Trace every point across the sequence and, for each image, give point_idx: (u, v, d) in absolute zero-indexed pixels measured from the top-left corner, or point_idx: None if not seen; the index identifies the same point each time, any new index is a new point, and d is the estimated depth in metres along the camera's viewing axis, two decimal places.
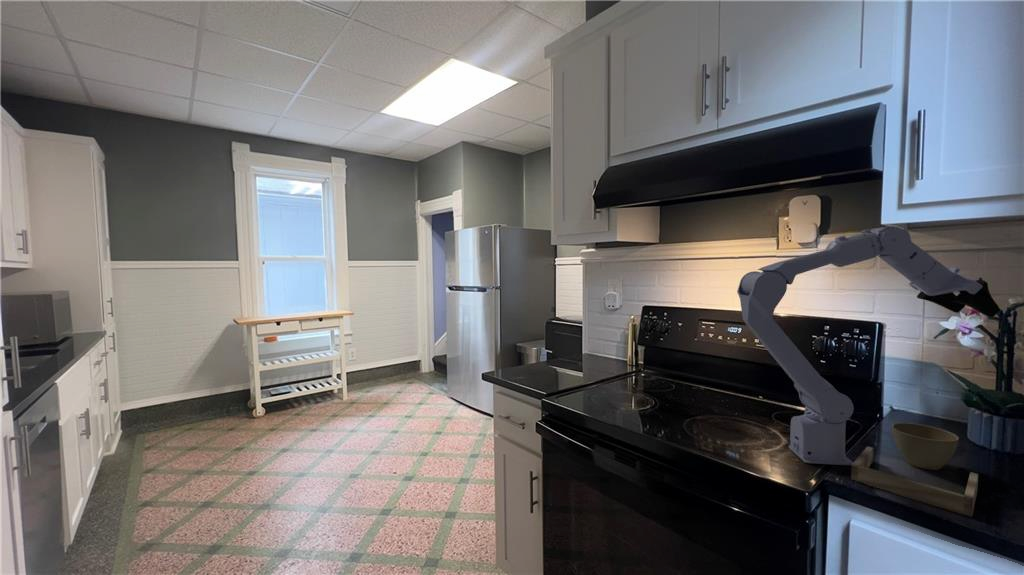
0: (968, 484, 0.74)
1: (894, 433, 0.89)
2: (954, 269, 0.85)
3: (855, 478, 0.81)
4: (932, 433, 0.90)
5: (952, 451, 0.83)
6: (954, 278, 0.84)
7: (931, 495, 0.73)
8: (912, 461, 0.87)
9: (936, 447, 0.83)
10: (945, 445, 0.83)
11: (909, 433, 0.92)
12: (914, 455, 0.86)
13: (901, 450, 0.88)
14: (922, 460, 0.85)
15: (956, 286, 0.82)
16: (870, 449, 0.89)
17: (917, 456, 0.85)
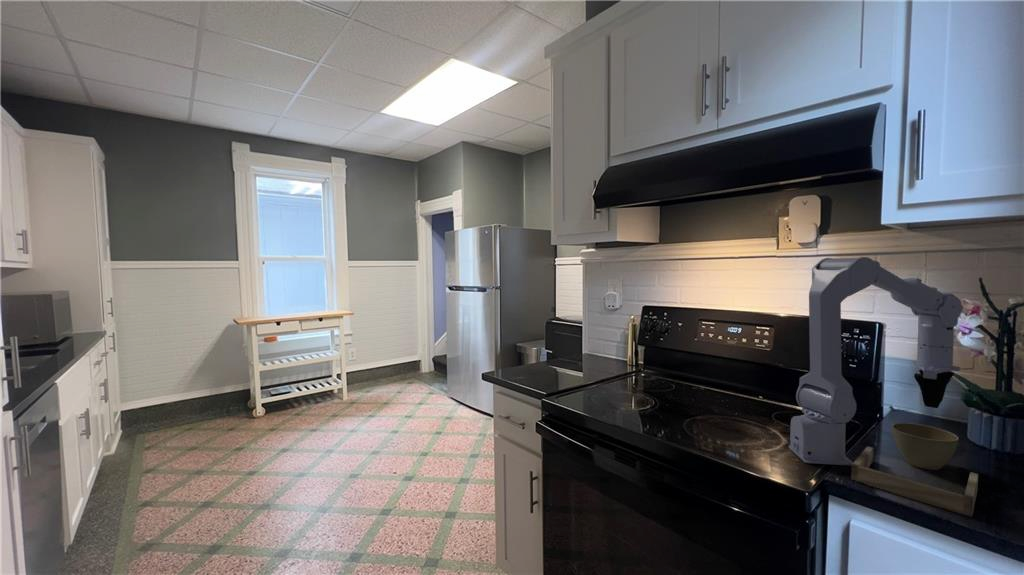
0: (968, 484, 0.74)
1: (894, 433, 0.89)
2: (956, 367, 0.92)
3: (855, 478, 0.81)
4: (932, 434, 0.90)
5: (952, 451, 0.83)
6: (940, 368, 0.92)
7: (931, 495, 0.73)
8: (912, 461, 0.87)
9: (936, 447, 0.83)
10: (944, 445, 0.83)
11: (909, 433, 0.92)
12: (914, 455, 0.86)
13: (901, 450, 0.88)
14: (922, 460, 0.85)
15: (927, 368, 0.93)
16: (870, 449, 0.89)
17: (917, 456, 0.85)
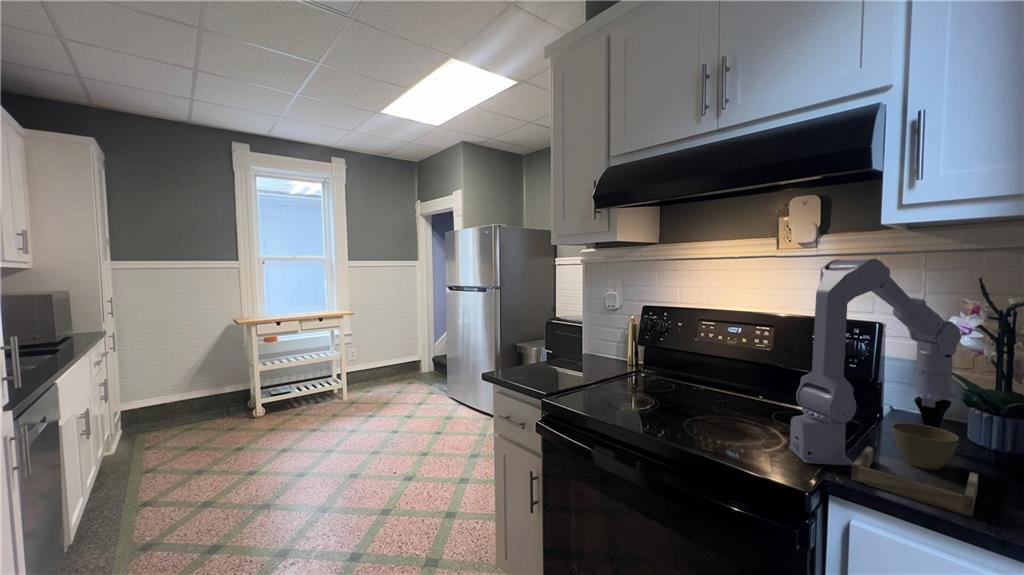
0: (968, 484, 0.74)
1: (894, 433, 0.89)
2: (954, 395, 0.92)
3: (855, 478, 0.81)
4: (932, 434, 0.90)
5: (952, 451, 0.83)
6: (938, 395, 0.92)
7: (931, 495, 0.73)
8: (912, 461, 0.87)
9: (936, 447, 0.83)
10: (945, 445, 0.83)
11: (909, 433, 0.92)
12: (914, 455, 0.86)
13: (901, 450, 0.88)
14: (922, 460, 0.85)
15: (925, 395, 0.92)
16: (870, 449, 0.89)
17: (917, 456, 0.85)
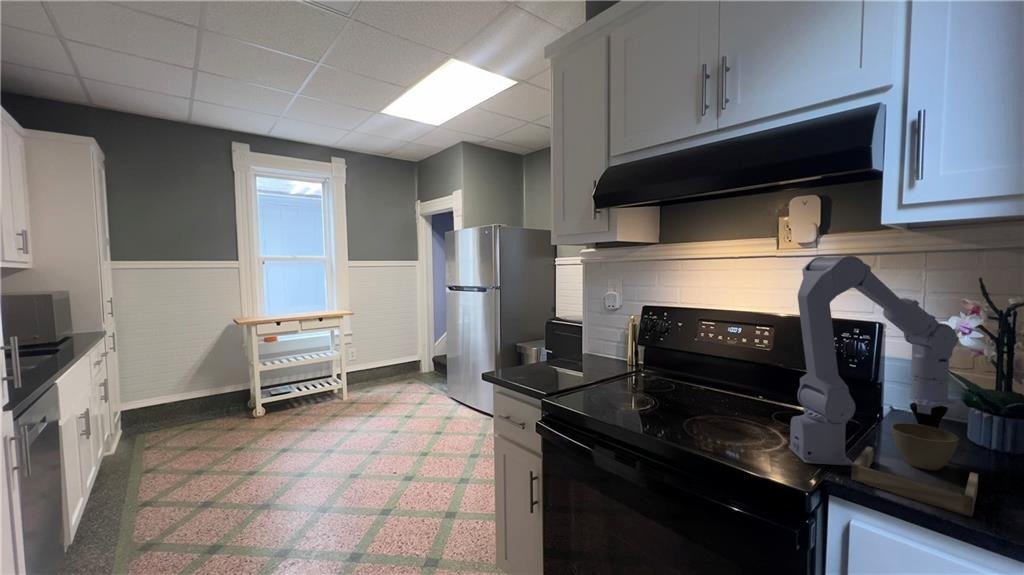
0: (968, 484, 0.74)
1: (894, 433, 0.89)
2: (951, 401, 0.88)
3: (855, 478, 0.81)
4: (932, 434, 0.89)
5: (952, 451, 0.83)
6: (935, 401, 0.88)
7: (931, 495, 0.73)
8: (912, 461, 0.87)
9: (936, 447, 0.83)
10: (944, 445, 0.82)
11: (909, 433, 0.91)
12: (914, 455, 0.86)
13: (901, 450, 0.88)
14: (921, 461, 0.85)
15: (921, 401, 0.88)
16: (870, 449, 0.89)
17: (917, 456, 0.85)
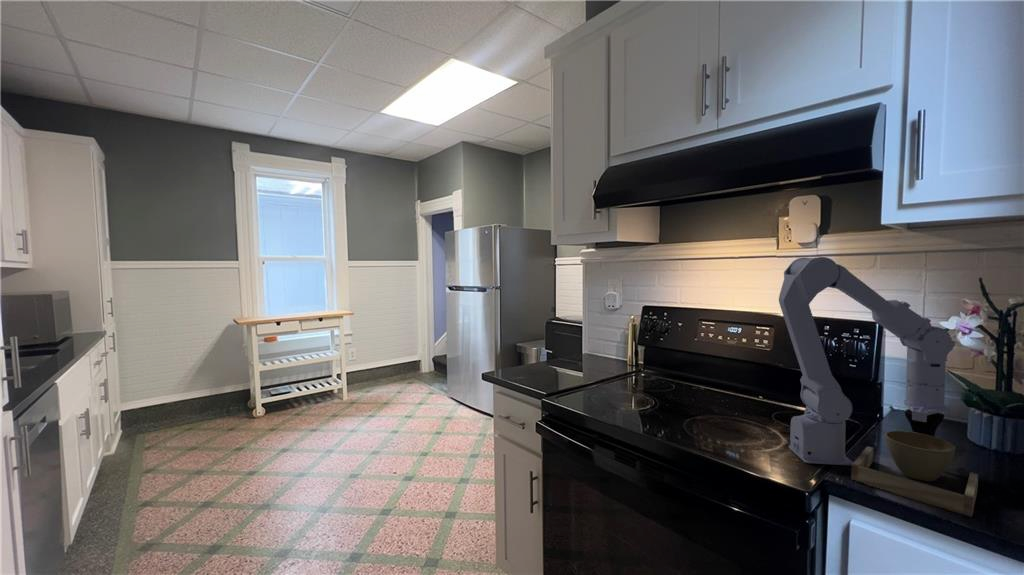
0: (968, 484, 0.74)
1: (888, 442, 0.85)
2: (948, 408, 0.84)
3: (855, 478, 0.81)
4: (928, 442, 0.85)
5: (948, 461, 0.79)
6: (930, 408, 0.84)
7: (931, 495, 0.73)
8: (906, 471, 0.83)
9: (931, 457, 0.79)
10: (940, 455, 0.78)
11: (904, 441, 0.87)
12: (908, 465, 0.82)
13: (895, 460, 0.84)
14: (916, 471, 0.81)
15: (916, 408, 0.84)
16: (870, 449, 0.89)
17: (912, 466, 0.81)
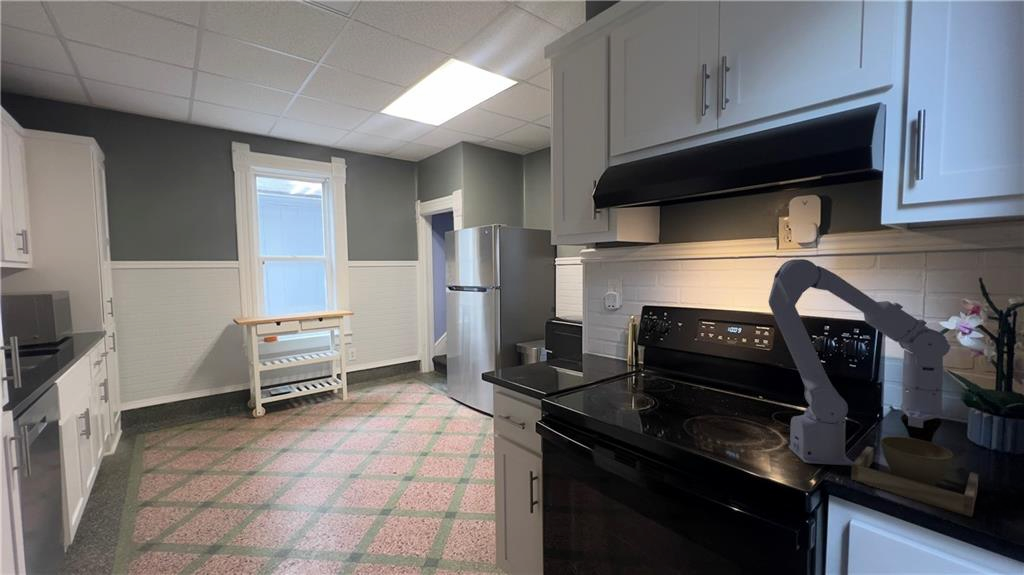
0: (968, 484, 0.74)
1: (883, 448, 0.82)
2: (945, 413, 0.81)
3: (855, 478, 0.81)
4: (925, 448, 0.82)
5: (945, 469, 0.76)
6: (927, 413, 0.81)
7: (931, 495, 0.73)
8: None
9: (928, 465, 0.76)
10: (937, 463, 0.75)
11: (900, 447, 0.85)
12: (904, 473, 0.79)
13: (891, 467, 0.81)
14: (912, 479, 0.78)
15: (912, 413, 0.82)
16: (870, 449, 0.89)
17: (908, 474, 0.78)
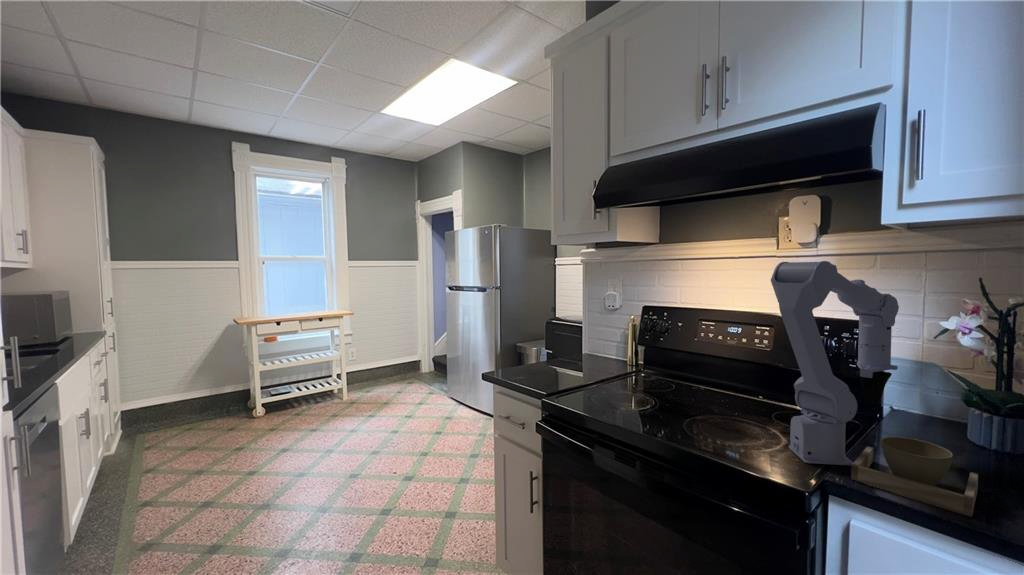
0: (968, 484, 0.74)
1: (883, 448, 0.82)
2: (893, 366, 0.94)
3: (855, 478, 0.81)
4: (925, 449, 0.83)
5: (945, 469, 0.76)
6: (877, 367, 0.94)
7: (931, 495, 0.73)
8: None
9: (928, 465, 0.76)
10: (937, 462, 0.76)
11: (900, 448, 0.85)
12: (904, 473, 0.79)
13: (891, 467, 0.81)
14: (912, 479, 0.78)
15: (864, 367, 0.94)
16: (870, 449, 0.89)
17: (908, 474, 0.78)
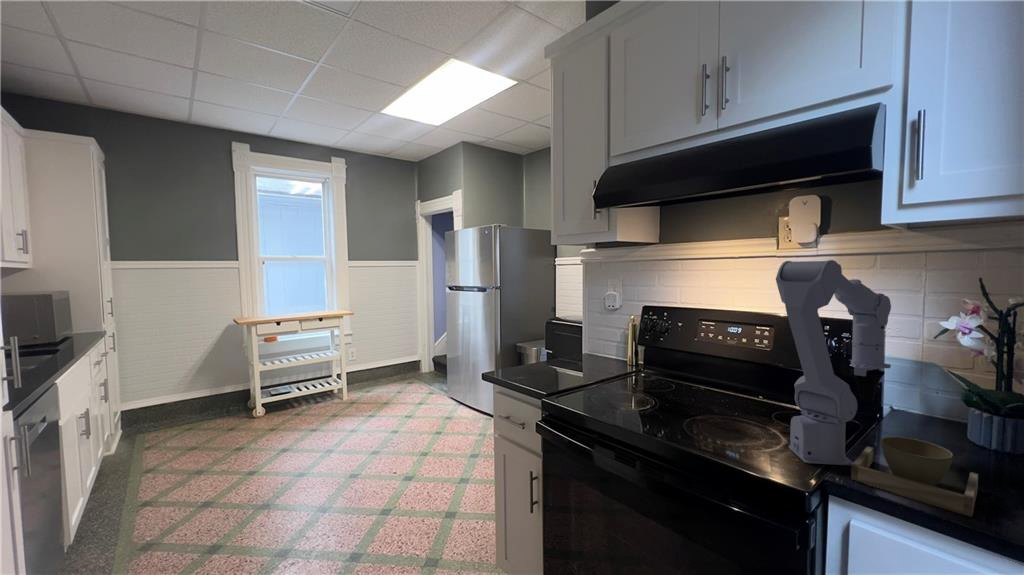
0: (968, 484, 0.74)
1: (883, 448, 0.82)
2: (886, 365, 0.95)
3: (855, 478, 0.81)
4: (925, 449, 0.83)
5: (945, 469, 0.76)
6: (871, 365, 0.96)
7: (931, 495, 0.73)
8: None
9: (928, 465, 0.76)
10: (937, 463, 0.76)
11: (900, 448, 0.85)
12: (904, 473, 0.79)
13: (891, 467, 0.81)
14: (912, 479, 0.78)
15: (858, 365, 0.96)
16: (870, 449, 0.89)
17: (908, 474, 0.78)
